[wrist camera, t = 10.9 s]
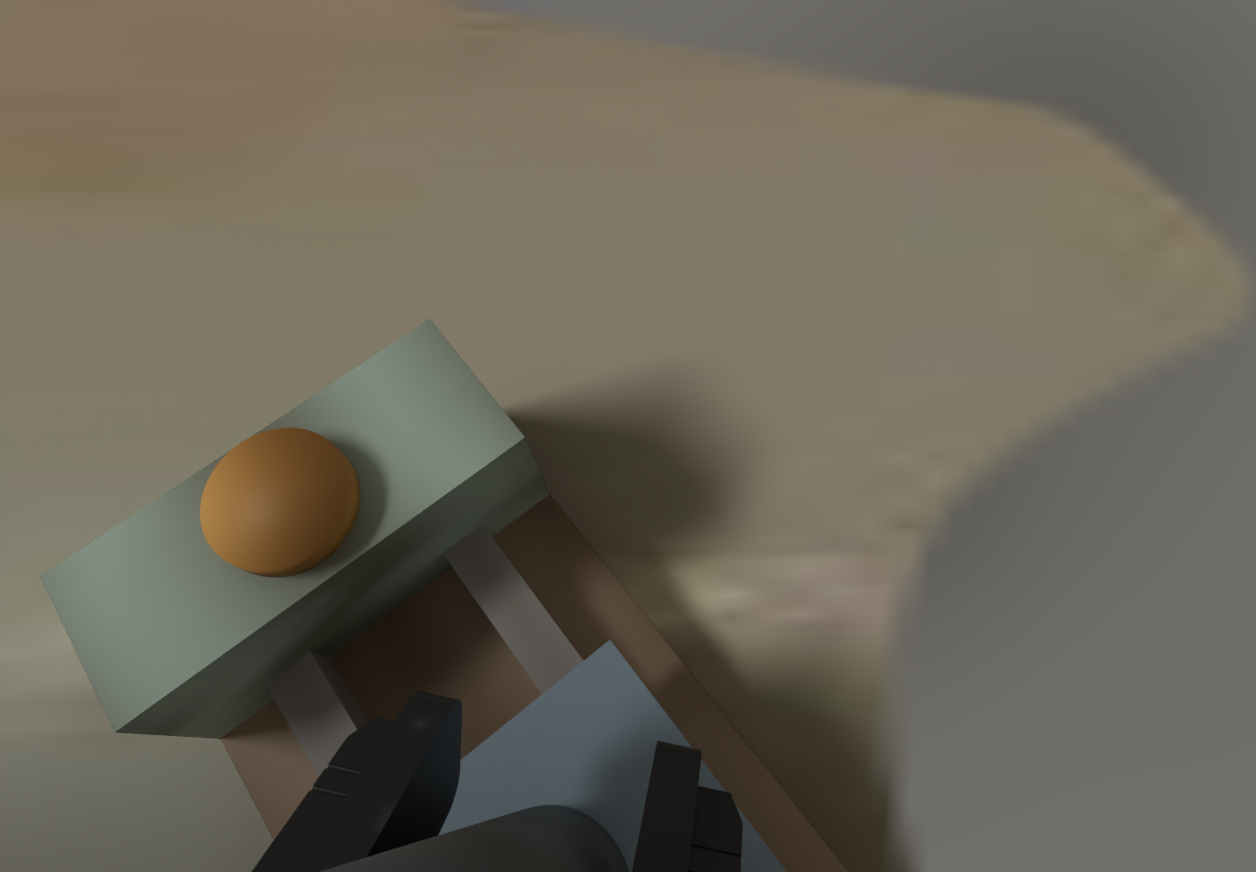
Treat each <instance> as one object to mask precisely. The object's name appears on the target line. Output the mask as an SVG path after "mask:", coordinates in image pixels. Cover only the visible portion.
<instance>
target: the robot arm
mask: <svg viewBox="0 0 1256 872" xmlns="http://www.w3.org/2000/svg"><path fill="white" fill-rule="evenodd" d="M461 731H462V703H461V701H460V700H459V699H454V698H450V697H445V696H440V695H435V694H430V693H426V692H421V691H415V692H414V693H413V694H412V695H411V696H410V697H409V699H408V700H407V702H406V703H405V705H404V707H403V708H402V710H401V711H400V713H399V714H398V716H397V717H396V719H395V720H394V721H393V720H388V719H384V718H379V717H374V718H373V719H372V720H370V721H369V722H367V723H366V724H365V725H363V726H362V727H360V728H359V729H358V730H356V731H355V732H353V733H352V734H351V735H349V736H348V737H347V738H346V739H345V741H344V742H343V744H342V745H341V746H340V748H339V749H338V751H337V752H336V753H335V755H334V756H333V758H332V759H331V761H330V762H329V765H328V767H327V769H326V768H325V769H324V770H323V772H322V773H321V775H320V776H319V777H318V779H317V780H316V782H315V783H314V785H313V788H312V790H311V791H310V790H309V792H308V793H307V794H306V796H305V797H304V799H303V800H302V801H301V803H300V804H299V806H298V807H297V809H296V810H295V811H294V813H293V814H292V816H291V817H290V818H289V820H288V821H287V823H286V824H285V825H284V827H283V828H282V830H281V831H280V833H279V834H278V835H277V837H276V838H275V840H274V841H273V842H272V844H271V845H270V847H269V848H268V849H267V851H266V852H265V854H264V855H263V857H262V858H261V859H260V861H259V862H258V864H257V865H256V866H255V868H254V869H253V871H252V872H321V871H324V870H327V869H330V868H334V867H337V866H340V865H343V864H347V863H350V862H353V861H356V860H360V859H363V858H366V857H370V856H373V855H376V854H379V853H383V852H386V851H389V850H392V849H396V848H399V847H402V846H406V845H409V844H412V843H415V842H419V841H422V840H425V839H428V838H432V837H435V836H438V835H439V833H440V831H441V829H442V827H443V824H444V822H445V820H446V818H447V816H448V814H449V812H450V809H451V807H452V804H453V801H454V798H455V795H456V791H457V787H458V782H459V776H460V762H461ZM701 756H702V750H700V749H695V748H690V747H686V746H681V745H676V744H671V743H667V742H662V741H657V744H656V749H655V755H654V760H653V765H652V770H651V775H650V780H649V786H648V791H647V796H646V801H645V806H644V812H643V817H642V822H641V827H640V832H639V837H638V843H637V848H636V853H635V858H634V863H633V868H632V872H741V853H742V831H743V822H742V820H741V817H740V815H739V812H738V810H737V808H736V805H735V803H734V800H733V798H732V795H731V793H730V792H725V791H720V790H716V789H711V788H706V787H702V786H698V781H699V773H700V764H701Z"/></svg>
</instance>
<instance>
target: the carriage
mask: <svg viewBox="0 0 1256 872" xmlns="http://www.w3.org/2000/svg"><path fill="white" fill-rule="evenodd" d="M657 741H662V742H667V743H671V744H676V745H681V746H686V747H690V748H692V747H691V745H690V744H689V743H688V741H687V740H686V739H685V737H684V736H683V735H682V733H681V732H680V731H679V729H678V728H677V727H676V726H675V724H674V723H673V722H672V720H671V719H670V718H669V716H668V715H667V714H666V712H665V711H664V710H663V708H662V707H661V706H660V705H659V703H658V702H657V701H656V699H655V698H654V697H653V695H652V694H651V693H650V691H649V690H648V689H647V688H646V686H645V685H644V684H643V682H642V681H641V680H640V678H639V677H638V676H637V674H636V673H635V672H634V670H633V669H632V668H631V667H630V665H629V664H628V663H627V661H626V660H625V659H624V657H623V656H622V655H621V653H620V652H619V651H618V649H617V648H616V647H615V646H614V644H613V643H612V642H611V640H609V641H608V642H606V643H605V644H604V645H603V646H601V647H600V648H599V649H598V650H596V651H595V652H594V653H593V654H592V655H590V656H589V657H588V658H587V659H585V660H584V661H583V662H582V663H580V664H579V665H578V666H577V667H575V668H574V669H573V670H572V671H570V672H569V673H568V674H567V675H565V676H564V677H563V678H562V679H561V680H559V681H558V682H557V683H556V684H554V685H553V686H552V687H551V688H549V689H548V690H547V691H546V692H544V693H543V694H542V695H541V696H539V697H538V698H537V699H536V700H534V701H533V702H532V703H531V704H530V705H528V706H527V707H526V708H525V709H523V710H522V711H521V712H520V713H518V714H517V715H516V716H515V717H513V718H512V719H511V720H510V721H508V722H507V723H506V724H505V725H503V726H502V727H501V728H500V729H499V730H497V731H496V732H495V733H494V734H492V735H491V736H490V737H489V738H487V739H486V740H485V741H484V742H482V743H481V744H480V745H479V746H477V747H476V748H475V749H474V750H472V751H471V752H470V753H469V754H468V755H466V756H465V757H464V758H463V759H461V762H460V776H459V782H458V787H457V791H456V795H455V798H454V801H453V804H452V807H451V809H450V812H449V814H448V816H447V818H446V820H445V822H444V824H443V827H442V829H441V831H440V833H439V835H438V836H435V837H432V838H428V839H425V840H422V841H419V842H415V843H412V844H409V845H406V846H402V847H399V848H396V849H392V850H389V851H386V852H383V853H379V854H376V855H373V856H370V857H366V858H363V859H360V860H356V861H353V862H350V863H347V864H343V865H340V866H337V867H334V868H330V869H327V870H324V871H321V872H632V868H633V863H634V858H635V853H636V848H637V843H638V837H639V832H640V827H641V822H642V817H643V812H644V806H645V801H646V796H647V791H648V786H649V780H650V775H651V770H652V765H653V760H654V755H655V749H656V744H657ZM698 786H702V787H706V788H711V789H716V790H720V791H725V790H724V788H723V787H722V786H721V785H720V783H719V782H718V781H717V779H716V778H715V777H714V775H713V774H712V773H711V771H710V770H709V769H708V768H707V766H706V765H705V764H704V762H703V761H702V760H701V764H700V773H699V781H698ZM725 792H726V791H725ZM735 805H736V804H735ZM736 808H737V810H738V812H739V815H740V817H741V820H742V822H743V831H742V853H741V872H787V871H786V870H785V869H784V867H783V866H782V865H781V863H780V862H779V861H778V859H777V858H776V857H775V855H774V854H773V853H772V851H771V850H770V849H769V848H768V846H767V845H766V844H765V842H764V841H763V840H762V838H761V837H760V836H759V834H758V833H757V832H756V830H755V829H754V828H753V827H752V825H751V824H750V823H749V821H748V820H747V819H746V817H745V816H744V815H743V813H742V812H741V811H740V809H739V808H738V807H737V806H736Z"/></svg>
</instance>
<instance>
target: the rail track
mask: <svg viewBox="0 0 1256 872" xmlns="http://www.w3.org/2000/svg"><path fill="white" fill-rule="evenodd" d="M40 577H41V579H42V582H43V584H44V586H45V588H46V590H47V592H48V594H49V596H50V598H51V600H52V603H53V605H54V607H55V609H56V611H57V613H58V615H59V617H60V619H61V621H62V623H63V626H64V628H65V630H66V632H67V634H68V636H69V638H70V640H71V642H72V644H73V646H74V649H75V651H76V653H77V655H78V657H79V659H80V661H81V663H82V665H83V667H84V669H85V672H86V674H87V676H88V678H89V680H90V682H91V684H92V686H93V688H94V690H95V692H96V695H97V697H98V699H99V701H100V703H101V705H102V707H103V709H104V711H105V713H106V715H107V718H108V720H109V722H110V724H111V726H112V728H113V730H114V732H117V733H134V734H150V735H167V736H183V737H200V738H217V739H221V741H222V743H223V744H224V746H225V748H226V750H227V752H228V754H229V756H230V758H231V760H232V761H233V763H234V765H235V767H236V769H237V771H238V773H239V775H240V777H241V778H242V780H243V782H244V784H245V786H246V788H247V790H248V792H249V794H250V795H251V797H252V799H253V801H254V803H255V805H256V807H257V809H258V811H259V812H260V814H261V816H262V818H263V820H264V822H265V824H266V826H267V828H268V829H269V831H270V833H271V835H272V837H273V839H274V840H275V838H276V837H277V835H278V834H279V833H280V831H281V830H282V828H283V827H284V825H285V824H286V823H287V821H288V820H289V818H290V817H291V816H292V814H293V813H294V811H295V810H296V809H297V807H298V806H299V804H300V803H301V801H302V800H303V799H304V797H305V796H306V794H307V793H308V792H309V790H310V791H311V790H312V788H313V785H314V783H315V782H316V780H317V779H318V777H319V776H320V775H321V773H322V772H323V770H324V769H325V768H326V769H327V767H328V765H329V762H330V761H331V759H332V758H333V756H334V755H335V753H336V752H337V751H338V749H339V748H340V746H341V745H342V744H343V742H344V741H345V739H346V738H347V737H348V736H349V735H351V734H352V733H353V732H355V731H356V730H358V729H359V728H360V727H362V726H363V725H365V724H366V723H367V722H369V721H370V720H372V719H373V718H374V717H379V718H384V719H388V720H393V721H394V720H395V719H396V717H397V716H398V714H399V713H400V711H401V710H402V708H403V707H404V705H405V703H406V702H407V700H408V699H409V697H410V696H411V695H412V694H413V693H414V692H415V691H421V692H426V693H430V694H435V695H440V696H445V697H450V698H454V699H459V700H460V701H461V703H462V731H461V759H463V758H464V757H465V756H466V755H468V754H469V753H470V752H471V751H472V750H474V749H475V748H476V747H477V746H479V745H480V744H481V743H482V742H484V741H485V740H486V739H487V738H489V737H490V736H491V735H492V734H494V733H495V732H496V731H497V730H499V729H500V728H501V727H502V726H503V725H505V724H506V723H507V722H508V721H510V720H511V719H512V718H513V717H515V716H516V715H517V714H518V713H520V712H521V711H522V710H523V709H525V708H526V707H527V706H528V705H530V704H531V703H532V702H533V701H534V700H536V699H537V698H538V697H539V696H541V695H542V694H543V693H544V692H546V691H547V690H548V689H549V688H551V687H552V686H553V685H554V684H556V683H557V682H558V681H559V680H561V679H562V678H563V677H564V676H565V675H567V674H568V673H569V672H570V671H572V670H573V669H574V668H575V667H577V666H578V665H579V664H580V663H582V662H583V661H584V660H585V659H587V658H588V657H589V656H590V655H592V654H593V653H594V652H595V651H596V650H598V649H599V648H600V647H601V646H603V645H604V644H605V643H606V642H608V641H609V640H611V642H612V643H613V644H614V646H615V647H616V648H617V649H618V651H619V652H620V653H621V655H622V656H623V657H624V659H625V660H626V661H627V663H628V664H629V665H630V667H631V668H632V669H633V670H634V672H635V673H636V674H637V676H638V677H639V678H640V680H641V681H642V682H643V684H644V685H645V686H646V688H647V689H648V690H649V691H650V693H651V694H652V695H653V697H654V698H655V699H656V701H657V702H658V703H659V705H660V706H661V707H662V708H663V710H664V711H665V712H666V714H667V715H668V716H669V718H670V719H671V720H672V722H673V723H674V724H675V726H676V727H677V728H678V729H679V731H680V732H681V733H682V735H683V736H684V737H685V739H686V740H687V741H688V743H689V744H690V745H691V747H692V748H695V749H700V750H702V756H701V760H702V761H703V762H704V764H705V765H706V766H707V768H708V769H709V770H710V771H711V773H712V774H713V775H714V777H715V778H716V779H717V781H718V782H719V783H720V785H721V786H722V787H723V788H724V790H725V791H726V792H730V793H731V795H732V798H733V800H734V803H735V804H736V806H737V807H738V808H739V809H740V811H741V812H742V813H743V815H744V816H745V817H746V819H747V820H748V821H749V823H750V824H751V825H752V827H753V828H754V829H755V830H756V832H757V833H758V834H759V836H760V837H761V838H762V840H763V841H764V842H765V844H766V845H767V846H768V848H769V849H770V850H771V851H772V853H773V854H774V855H775V857H776V858H777V859H778V861H779V862H780V863H781V865H782V866H783V867H784V869H785V870H786V871H787V872H848V871H847V869H846V868H845V867H844V866H843V864H842V863H841V862H840V861H839V859H838V858H837V857H836V856H835V854H834V853H833V852H832V850H831V849H830V848H829V847H828V845H827V844H826V843H825V842H824V840H823V839H822V838H821V837H820V835H819V834H818V833H817V831H816V830H815V829H814V828H813V826H812V825H811V824H810V823H809V821H808V820H807V819H806V818H805V816H804V815H803V814H802V813H801V811H800V810H799V809H798V807H797V806H796V805H795V804H794V802H793V801H792V800H791V799H790V797H789V796H788V795H787V794H786V792H785V791H784V790H783V789H782V787H781V786H780V785H779V783H778V782H777V781H776V780H775V778H774V777H773V776H772V775H771V773H770V772H769V771H768V770H767V768H766V767H765V766H764V765H763V763H762V762H761V761H760V759H759V758H758V757H757V756H756V754H755V753H754V752H753V751H752V749H751V748H750V747H749V746H748V744H747V743H746V742H745V741H744V739H743V738H742V737H741V735H740V734H739V733H738V732H737V730H736V729H735V728H734V727H733V725H732V724H731V723H730V722H729V720H728V719H727V718H726V716H725V715H724V714H723V713H722V711H721V710H720V709H719V708H718V706H717V705H716V704H715V703H714V701H713V700H712V699H711V698H710V696H709V695H708V694H707V692H706V691H705V690H704V689H703V687H702V686H701V685H700V684H699V682H698V681H697V680H696V679H695V677H694V676H693V675H692V674H691V672H690V671H689V670H688V668H687V667H686V666H685V665H684V663H683V662H682V661H681V660H680V658H679V657H678V656H677V655H676V653H675V652H674V651H673V650H672V648H671V647H670V646H669V644H668V643H667V642H666V641H665V639H664V638H663V637H662V636H661V634H660V633H659V632H658V631H657V629H656V628H655V627H654V626H653V624H652V623H651V622H650V620H649V619H648V618H647V617H646V615H645V614H644V613H643V612H642V610H641V609H640V608H639V607H638V605H637V604H636V603H635V601H634V600H633V599H632V598H631V596H630V595H629V594H628V593H627V591H626V590H625V589H624V588H623V586H622V585H621V584H620V583H619V581H618V580H617V579H616V577H615V576H614V575H613V574H612V572H611V571H610V570H609V569H608V567H607V566H606V565H605V564H604V562H603V561H602V560H601V559H600V557H599V556H598V555H597V553H596V552H595V551H594V550H593V548H592V547H591V546H590V545H589V543H588V542H587V541H586V540H585V538H584V537H583V536H582V535H581V533H580V532H579V531H578V529H577V528H576V527H575V526H574V524H573V523H572V522H571V521H570V519H569V518H568V517H567V516H566V514H565V513H564V512H563V510H562V509H561V508H560V507H559V505H558V504H557V503H556V502H555V500H554V499H553V498H552V497H551V495H550V494H549V492H548V489H547V487H546V485H545V482H544V480H543V478H542V475H541V473H540V471H539V468H538V466H537V464H536V462H535V459H534V457H533V455H532V452H531V450H530V448H529V445H528V443H527V441H526V438H525V437H524V435H523V434H522V433H521V432H520V430H519V429H518V428H517V427H516V425H515V424H514V423H513V422H512V420H511V419H510V418H509V417H508V415H507V414H506V413H505V412H504V410H503V409H502V408H501V407H500V406H499V404H498V403H497V402H496V401H495V399H494V398H493V397H492V396H491V394H490V393H489V392H488V391H487V389H486V388H485V387H484V386H483V384H482V383H481V382H480V381H479V379H478V378H477V377H476V376H475V374H474V373H473V372H472V371H471V369H470V368H469V367H468V366H467V364H466V363H465V362H464V361H463V359H462V358H461V357H460V356H459V354H458V353H457V352H456V351H455V349H454V348H453V347H452V346H451V345H450V343H449V342H448V341H447V340H446V338H445V337H444V336H443V335H442V333H441V332H440V331H439V330H438V328H437V327H436V326H435V325H434V323H433V322H432V321H431V320H430V319H429V320H427V321H426V322H424V323H423V324H421V325H420V326H418V327H417V328H415V329H414V330H412V331H411V332H409V333H408V334H406V335H405V336H403V337H402V338H400V339H399V340H397V341H395V342H394V343H392V344H391V345H389V346H388V347H386V348H385V349H383V350H382V351H380V352H379V353H377V354H376V355H374V356H373V357H371V358H370V359H368V360H367V361H365V362H364V363H362V364H361V365H359V366H358V367H356V368H355V369H353V370H352V371H350V372H349V373H347V374H345V375H344V376H342V377H341V378H339V379H338V380H336V381H335V382H333V383H332V384H330V385H329V386H327V387H326V388H324V389H323V390H321V391H320V392H318V393H317V394H315V395H314V396H312V397H311V398H309V399H308V400H306V401H305V402H303V403H302V404H300V405H298V406H297V407H295V408H294V409H292V410H291V411H289V412H288V413H286V414H285V415H283V416H282V417H280V418H279V419H277V420H276V421H274V422H273V423H271V424H270V425H268V426H267V427H265V428H264V429H262V430H261V431H259V432H258V433H256V434H255V435H253V436H252V437H250V438H248V439H246V440H245V441H243V442H241V443H240V444H238V445H237V446H236V447H234V448H233V449H232V450H230V451H229V452H227V453H226V454H224V455H223V456H221V457H220V458H218V459H217V460H215V461H214V462H212V463H211V464H209V465H208V466H206V467H205V468H203V469H202V470H200V471H198V472H197V473H195V474H194V475H192V476H191V477H189V478H188V479H186V480H185V481H183V482H182V483H180V484H179V485H177V486H176V487H174V488H173V489H171V490H170V491H168V492H167V493H165V494H164V495H162V496H161V497H159V498H158V499H156V500H155V501H153V502H151V503H150V504H148V505H147V506H145V507H144V508H142V509H141V510H139V511H138V512H136V513H135V514H133V515H132V516H130V517H129V518H127V519H126V520H124V521H123V522H121V523H120V524H118V525H117V526H115V527H114V528H112V529H111V530H109V531H108V532H106V533H105V534H103V535H101V536H100V537H98V538H97V539H95V540H94V541H92V542H91V543H89V544H88V545H86V546H85V547H83V548H82V549H80V550H79V551H77V552H76V553H74V554H73V555H71V556H70V557H68V558H67V559H65V560H64V561H62V562H61V563H59V564H58V565H56V566H55V567H53V568H51V569H50V570H48V571H47V572H45V573H44V574H42V575H41V576H40Z"/></svg>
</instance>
